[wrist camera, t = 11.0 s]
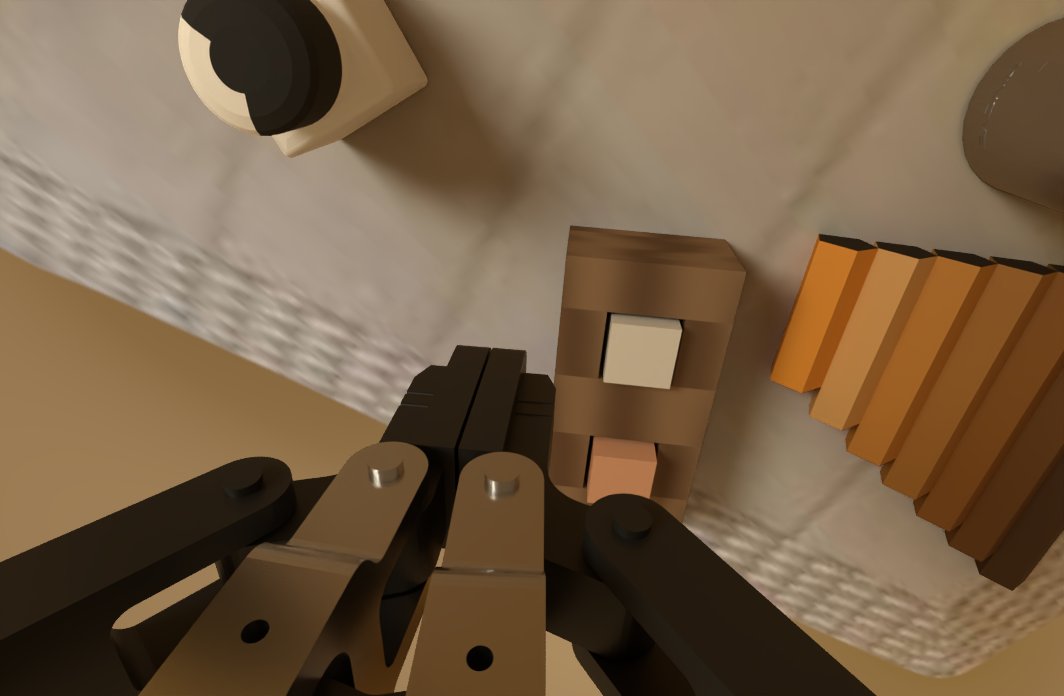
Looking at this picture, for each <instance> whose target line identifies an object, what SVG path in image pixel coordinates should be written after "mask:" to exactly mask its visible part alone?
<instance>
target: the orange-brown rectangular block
mask: <svg viewBox="0 0 1064 696" xmlns="http://www.w3.org/2000/svg"><path fill="white" fill-rule="evenodd" d="M656 465H657V459H656V452H655V446H654V442H645V441H636V440H627V439H618V438H609V437H600V436H591V435H590V440H589V447H588V477H587V503H594V502H596V501H597V500H599V499H600V498H602V497H605V496H608V495H612V494H620V493H626V494H634V495H639V496H643V497H646V498H648V499H649V498H650V493H651V488H652V484H653V479H654V474H655V470H656Z"/></svg>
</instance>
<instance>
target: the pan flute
mask: <svg viewBox="0 0 1064 696" xmlns="http://www.w3.org/2000/svg"><path fill="white" fill-rule="evenodd" d="M770 380H772V381H774V382H776V383H779V384H781V385H783V386H786V387H788V388H790V389H793V390H795V391H797V392H800V393H804V392H807V391H810V390H813V389H815V392H814V394H813V397H812V399H811V402H810V404H809V416H810V417H812V418H814V419H816V420H819V421H821V422H823V423H825V424H828V425H830V426H832V427H834V428H837V429H839V430H841V431H842V430H844V429H847V428H849V427H851V428H850V430H849V432H848V435H847V437H846V448H847V451H848V452H850V453H852V454H854V455H856V456H858V457H861V458H863V459H865V460H867V461H869V462H871V463H874V464H876V465H878V466H881V465H883V464H884V465H883V467H882V469H881V471H880V474H881V479H882V484H883V485H885V486H887V487H889V488H892V489H894V490H896V491H898V492H900V493H902V494H904V495H906V496H908V497H910V498H912V499H915V500H914V501H913V504H914V508H915V512H916V516H918V517H920V518H922V519H924V520H926V521H928V522H931V523H933V524H935V525H937V526H939V527H941V528H943V529H945V535H946V538H947V542H948V545H949V546H951V547H953V548H955V549H957V550H959V551H961V552H963V553H965V554H967V555H969V556H971V557H973V558H975V563H976V565H977V568H978V571H979V574H980V575H982V576H984V577H986V578H988V579H990V580H992V581H994V582H996V583H998V584H1000V585H1002V586H1004V587H1006V588H1008V589H1010V590H1012V591H1013V590H1014V589H1015V588H1016V587H1018V586H1019V585H1020V584H1021V583H1022V582H1024V581H1025V579H1026V578H1027V577H1028V575H1029V574H1030V573H1031V572H1032V570H1033V569H1034V568H1035V566H1036V565H1037V564H1038V562H1039V561H1040V560H1041V558H1042V557H1043V556H1044V555H1045V553H1046V552H1047V551H1048V549H1049V548H1050V547H1051V545H1052V544H1053V543H1054V541H1055V540H1056V539H1057V537H1058V536H1059V535H1060V534H1061V532H1062V531H1063V530H1064V266H1061V265H1053V264H1048V266H1047V267H1045V266H1042V265H1039V264H1037V263H1034V262H1030V261H1023V260H1015V259H1007V258H1000V257H992V256H991V257H990V259H989V260H987V259H985V258H982V257H980V256H977V255H975V254H969V253H961V252H953V251H946V250H938V249H933V250H932V252H931V253H930V252H928V251H925V250H923V249H921V248H918V247H915V246H907V245H899V244H892V243H884V242H875V245H874V246H873V245H870V244H868V243H866V242H864V241H862V240H860V239H853V238H846V237H838V236H830V235H823V234H819V235H818V238H817V241H816V244H815V247H814V249H813V252H812V255H811V258H810V261H809V263H808V266H807V269H806V272H805V275H804V278H803V280H802V283H801V286H800V289H799V292H798V294H797V297H796V300H795V303H794V306H793V308H792V311H791V314H790V317H789V320H788V322H787V325H786V328H785V331H784V334H783V336H782V339H781V342H780V345H779V348H778V350H777V353H776V356H775V359H774V362H773V365H772V367H771V372H770Z"/></svg>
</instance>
